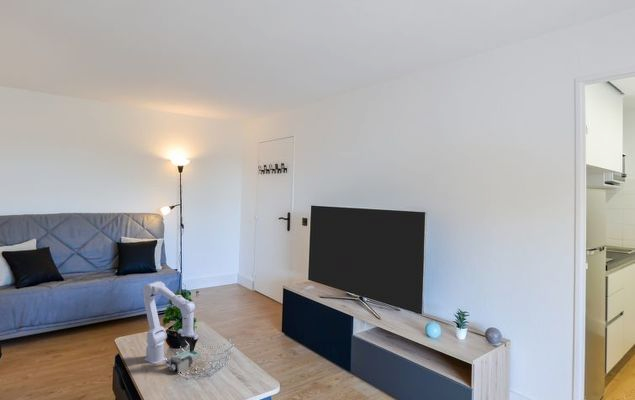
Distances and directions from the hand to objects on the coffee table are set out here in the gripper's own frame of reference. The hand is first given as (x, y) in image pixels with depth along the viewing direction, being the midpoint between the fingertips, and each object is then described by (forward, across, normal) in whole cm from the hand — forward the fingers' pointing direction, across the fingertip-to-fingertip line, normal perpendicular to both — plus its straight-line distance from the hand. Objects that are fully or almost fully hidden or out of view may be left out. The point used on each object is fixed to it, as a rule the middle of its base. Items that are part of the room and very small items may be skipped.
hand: (187, 349), depth 194 cm
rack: (+9, -8, +4) cm, 13 cm away
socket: (+9, 0, -5) cm, 11 cm away
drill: (+9, 0, -2) cm, 10 cm away
